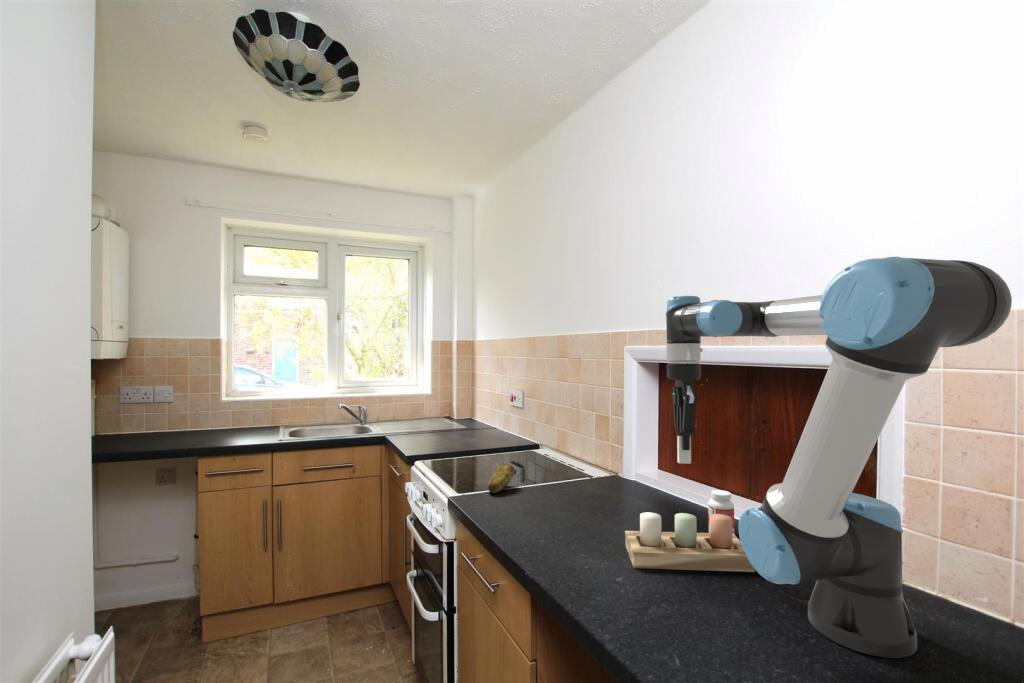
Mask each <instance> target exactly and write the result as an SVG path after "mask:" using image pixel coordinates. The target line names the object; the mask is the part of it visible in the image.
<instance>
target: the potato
mask: <svg viewBox="0 0 1024 683" xmlns="http://www.w3.org/2000/svg"><path fill="white" fill-rule="evenodd" d="M514 476H515V469H514V467H513V466H512V465H509V464H501V465H499V466H498V467H497V468H496V470H495V471H494V473H493V474H492V476H491V478H490V479H489V481H488V482H487V490H488V492H489V493H491V492H492V493H491V494H493V493H494V494H497V493H499V492H500V491H502V490H503V489H504V488H506V486H508V485H509V484H510V482H511V481H513V479H514ZM496 492H497V493H496Z"/></svg>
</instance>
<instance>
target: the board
mask: <svg viewBox="0 0 1024 683" xmlns="http://www.w3.org/2000/svg"><path fill="white" fill-rule="evenodd" d="M624 536H625V538H624V541H625V542H624V543H625V544H624V545H625V548H626V550H627V554H628V556H629V560H630V561H631V565H632V566H633V568H634V569H654V570H681V571H682V570H683V571H686V570H688V571H711V572H712V571H717V572H744V573H745V572H747V573H755V572H756V570H755V569H754V567H753V566H752V564H751V563H750V561H749V560H748V558H747V556H746V554H745V552H744V550H743V547H742V544H741V541H740V538H738V536H736V534H732V539H733V546H732V547H730V548H720V547H716V546H714V545H712V544H711V543H710V533H709V532H697V545H696V546H694V547H684V546H680V545H678V544H676V543H675V531H661V540H662V543H661V544H660V545H658V546H649V545H645V544H643V543H641V541H640V530H624Z"/></svg>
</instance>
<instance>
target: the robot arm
mask: <svg viewBox="0 0 1024 683" xmlns="http://www.w3.org/2000/svg"><path fill="white" fill-rule="evenodd" d="M1012 300H1013V298H1012V294H1011V289H1010V287H1009V286H1008V284H1007V283H1006V281H1005V279H1003V277H1001V275H1000V274H998V273H997V272H996V271H994V270H992V269H991V268H989V267H987V266H985V265H982V264H980V263H976V262H973V261H968V260H967V261H966V260H959V259H958V260H955V259H949V260H948V259H929V258H917V257H916V258H915V257H914V258H913V257H904V256H903V257H901V256H887V257H882V258H879V257H878V258H868V259H864V260H860V261H857V262H855V263H853V264H851V265H849V266H847V267H845V268H844V269H842V270H840V271H839V272H838V273H837V274H836V275H835V276H834V277H833V278H832V279H831V280H830V282H829V283H828V285H827V286H826V287H825V289H824V291H823V293H822V294H820V295H812V296H811V295H810V296H803V297H796V298H795V297H794V298H786V299H785V298H784V299H777V300H769V301H768V300H767V301H755V302H754V301H751V302H750V301H747V302H746V301H731V300H728V299H714V300H710V301H705V302H704V301H703V302H702V301H701V297H699V296H697V295H679V296H678V295H676V296H671V297H669V298H668V299H667V301H666V312H665V316H666V317H665V320H666V322H665V324H666V346H665V347H666V348H665V349H666V361H668V363H667V364H666V377H667V379H669V380H674V381H675V382H674V386H673V389H671V392H670V393H671V398H672V408H673V409H672V410H673V424H674V430H676V432H675V433H676V438H677V440H676V441H677V442H676V448H677V451H676V452H677V453H676V454H677V457H676V458H677V463H678V464H687V465H688V464H692V439H691V438H692V436H694V435H695V428H696V427H695V425H696V414H697V412H696V411H697V403H698V397H699V395H698V394H696V393H695V392H696V390H695V387H694V383H693V381H698V380H700V379H701V378H702V364H700V363H699V362H700V361H701V356H702V355H701V353H702V352H703V350H704V349H703V348H701V345H702V344H701V342H702V341H701V338H702V337H708V338H709V337H710V338H711V337H712V338H723V337H724V338H725V337H765V338H769V337H771V338H777V337H781V336H782V337H783V336H787V337H788V336H827V338H826V340H825V343H824V346H825V347H826V349H827V351H828V352H829V354H830V355H831V358H832V359H831V361H830V364H829V366H828V369H827V371H826V374H825V376H824V379H823V381H822V384H821V386H820V388H819V391H818V393H817V396H816V398H815V401H814V404H813V405H812V408H811V411H810V413H809V416H808V418H807V420H806V423H805V426H804V428H803V431H802V433H801V435H800V439H799V441H798V444H797V446H796V448H795V451H794V453H793V456H792V458H791V461H790V464H789V466H788V468H787V471H786V473H785V476H784V477H783V481H782V482H781V483H775V484H773V485H771V486H770V487H769V489H768V490H767V492H766V493H765V497H764V499H763V502H762V504H761V506H760V507H758V508H756V507H751V508H748V509H747V510H744V511H743V512H742V513H741V514H740V516H739V519H738V535H739V540H740V541H741V544H742V547H743V550H744V552H745V554H746V556H747V558H748V560H749V561H750V563H751V564H752V566H753V567H754V569H755V572H757V573H758V574H759V575H760V576H761V577H762V578H764V579H765V580H766V581H768V582H770V583H773V584H777V585H786V584H787V585H788V584H789V585H792V586H793V585H797V584H802V583H807V582H808V583H809V582H813V581H816V582H815V585H814V587H813V589H812V592H811V595H810V598H809V599H808V602H807V618H808V621H809V622H810V624H811V625H812V626H813V627H814V629H815V630H817V631H818V632H819V633H820V634H821V635H823V636H825V637H826V638H828V639H830V640H831V641H833V642H834V643H836V644H838V645H841V646H842V647H845V648H848V649H850V650H853V651H854V652H855V651H856V652H859V653H862V654H866V655H870V656H874V657H878V658H879V657H880V658H886V659H902V658H908V657H910V656H913V655H914V654H915V653H916V652H917V650H918V634H917V630H916V627H915V623H914V622H913V619H912V617H911V614H910V612H909V609H908V606H907V603H906V600H905V599H904V596H903V594H904V593H903V533H904V531H903V527H902V518H901V513H900V511H899V510H898V509H897V508H896V507H895V506H894V505H892V504H890V503H888V502H886V501H885V500H884V501H883V500H881V499H878V498H875V497H871V496H869V495H868V496H867V495H865V494H860V493H855V492H853V491H854V489H855V486H856V485H857V483H858V480H859V478H860V477H861V474H862V472H863V470H864V469H865V466H866V464H867V462H868V460H869V458H870V457H871V456H870V455H871V454H872V452H873V449H874V447H875V445H876V443H877V442H878V439H879V437H880V435H881V433H882V431H883V429H884V426H885V425H886V422H887V421H888V419H889V417H890V414H891V412H892V410H893V408H894V407H895V405H896V402H897V400H898V398H899V395H900V393H901V392H902V390H903V388H904V385H905V383H906V382H907V380H909V379H913V378H917V377H921V376H923V375H925V374H927V372H928V370H929V369H930V368H929V367H930V366H931V364H932V362H933V361H934V358H935V356H936V354H937V353H938V350H939V348H954V347H964V346H967V345H970V344H975V343H979V342H980V341H983V340H985V339H987V338H988V337H989V336H991V335H993V334H994V333H996V332H997V331H998V330H999V329H1000V328H1001V327H1002V326H1003V325H1004V324H1005V322H1006V320H1007V319H1008V318H1009V316H1010V313H1011V309H1012Z"/></svg>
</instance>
